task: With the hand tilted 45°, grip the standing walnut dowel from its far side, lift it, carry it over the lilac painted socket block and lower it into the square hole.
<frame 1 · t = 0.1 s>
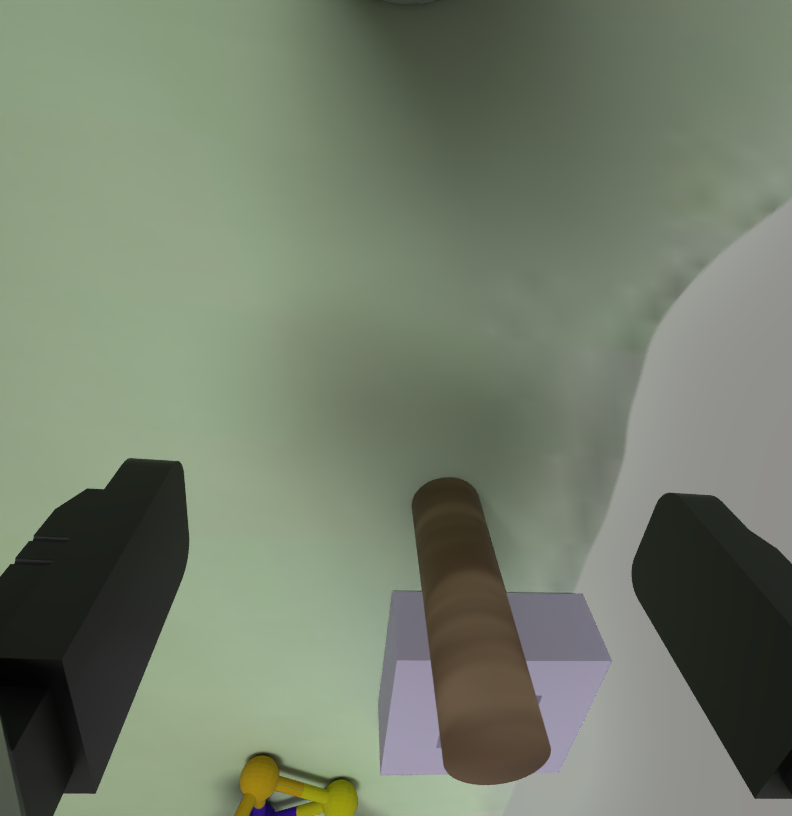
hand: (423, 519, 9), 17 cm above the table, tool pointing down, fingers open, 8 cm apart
socket: (473, 653, 39), on the table
dowel: (445, 504, 32), on the table
educational toy: (284, 789, 48), on the table
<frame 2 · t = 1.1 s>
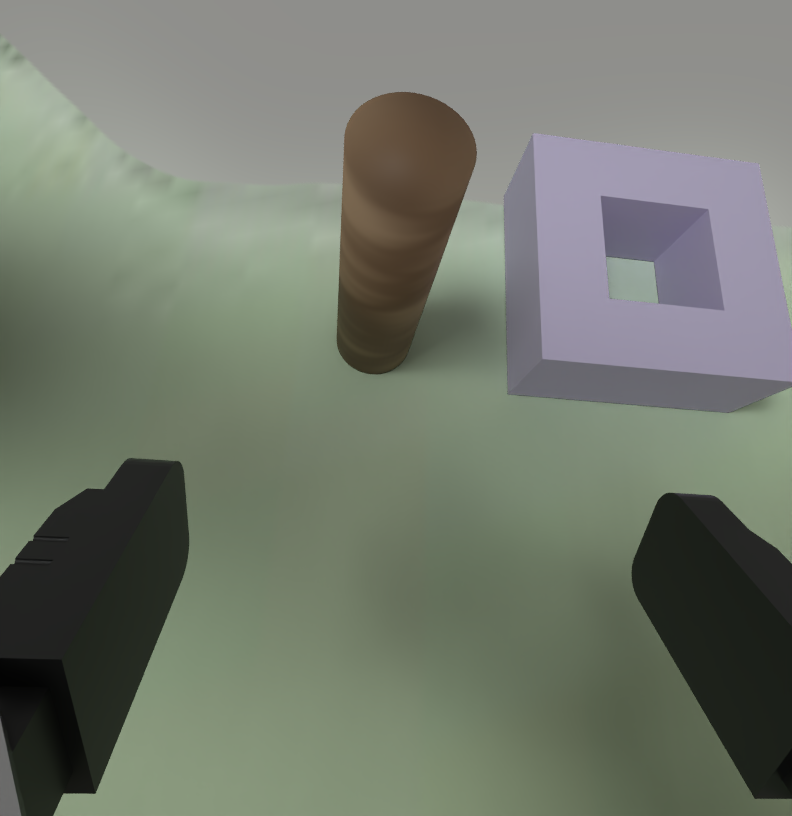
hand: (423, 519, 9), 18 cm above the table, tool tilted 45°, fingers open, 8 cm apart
socket: (611, 299, 32), on the table
dowel: (373, 339, 29), on the table
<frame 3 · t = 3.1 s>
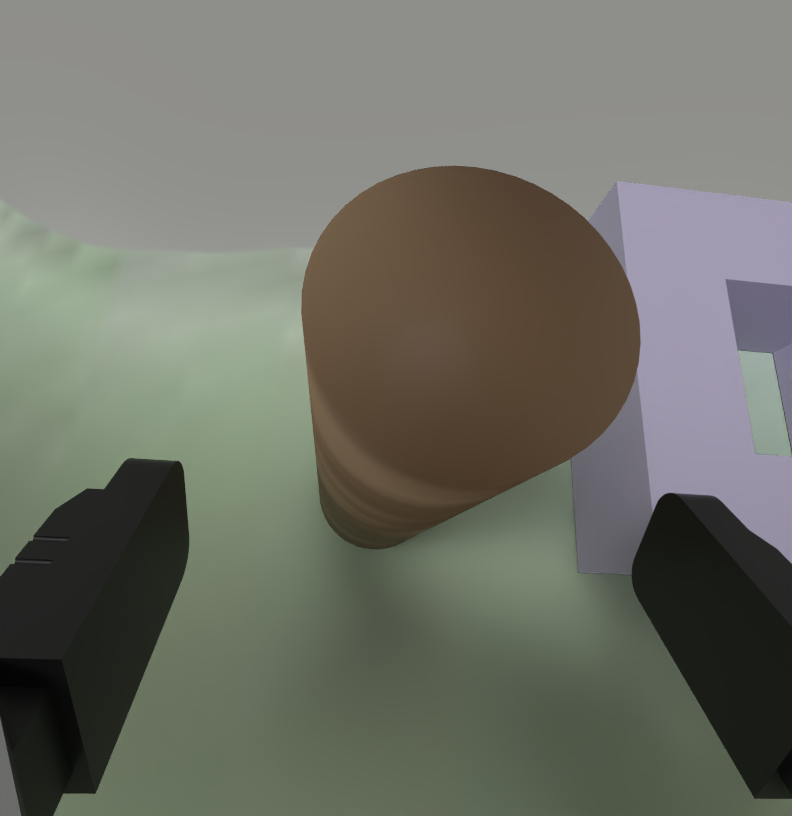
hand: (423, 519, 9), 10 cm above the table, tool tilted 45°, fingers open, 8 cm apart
socket: (718, 414, 22), on the table
dowel: (375, 492, 19), on the table
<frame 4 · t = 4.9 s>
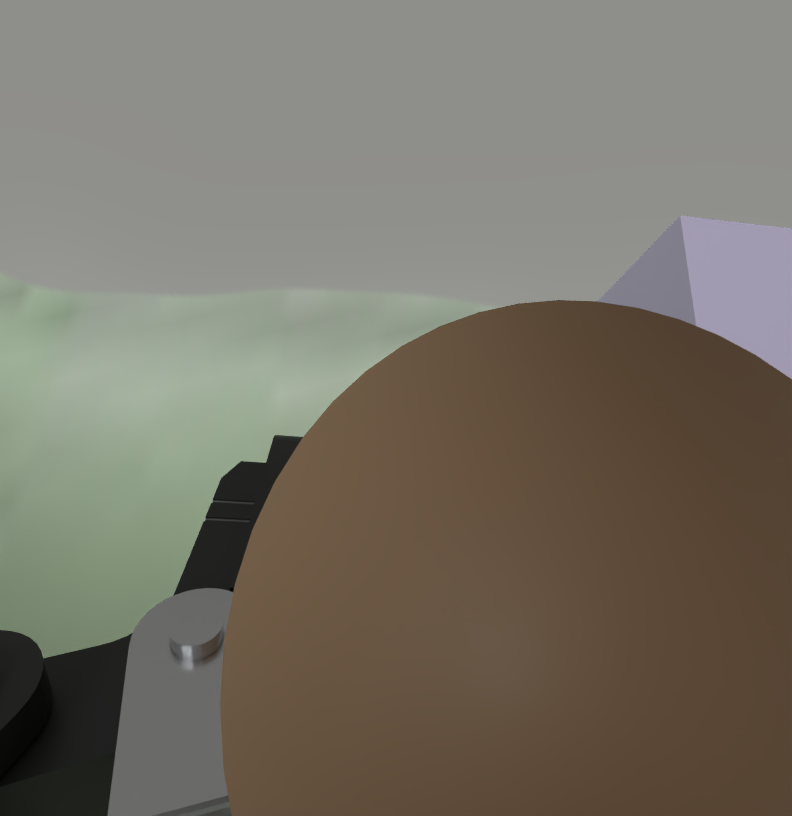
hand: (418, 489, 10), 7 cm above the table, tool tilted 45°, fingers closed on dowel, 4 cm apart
socket: (791, 487, 19), on the table
dowel: (380, 592, 16), on the table, touching gripper
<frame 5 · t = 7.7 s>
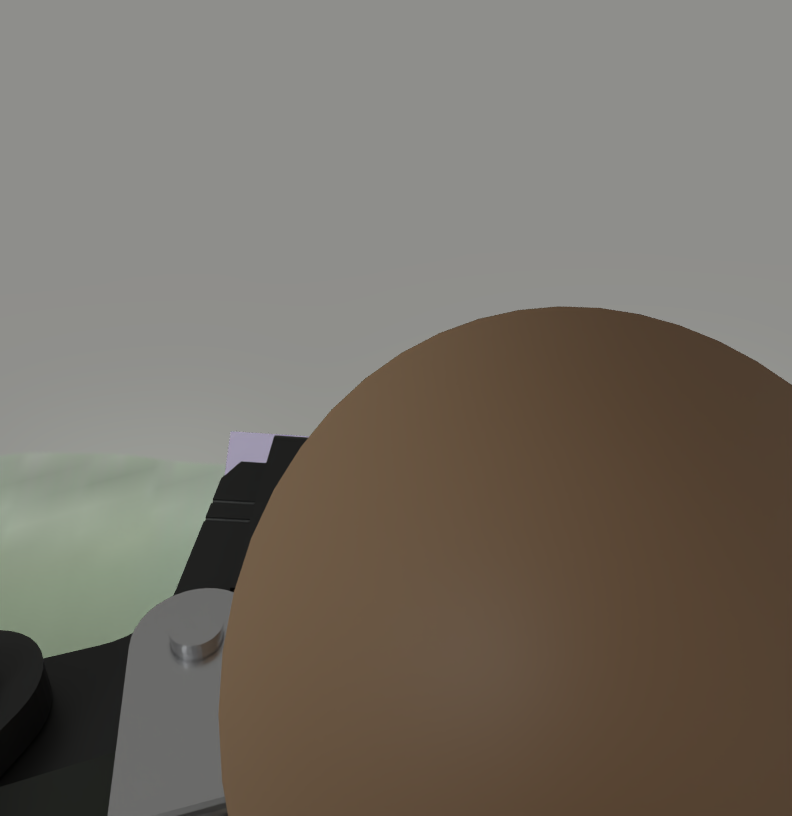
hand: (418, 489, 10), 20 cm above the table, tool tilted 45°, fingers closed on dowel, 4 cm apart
socket: (358, 584, 28), on the table
dowel: (380, 594, 16), point 13 cm above the table, touching gripper
when the fingers open (8 cm above the table, at t = 10.6 s): dowel drops 1 cm, resting in socket.
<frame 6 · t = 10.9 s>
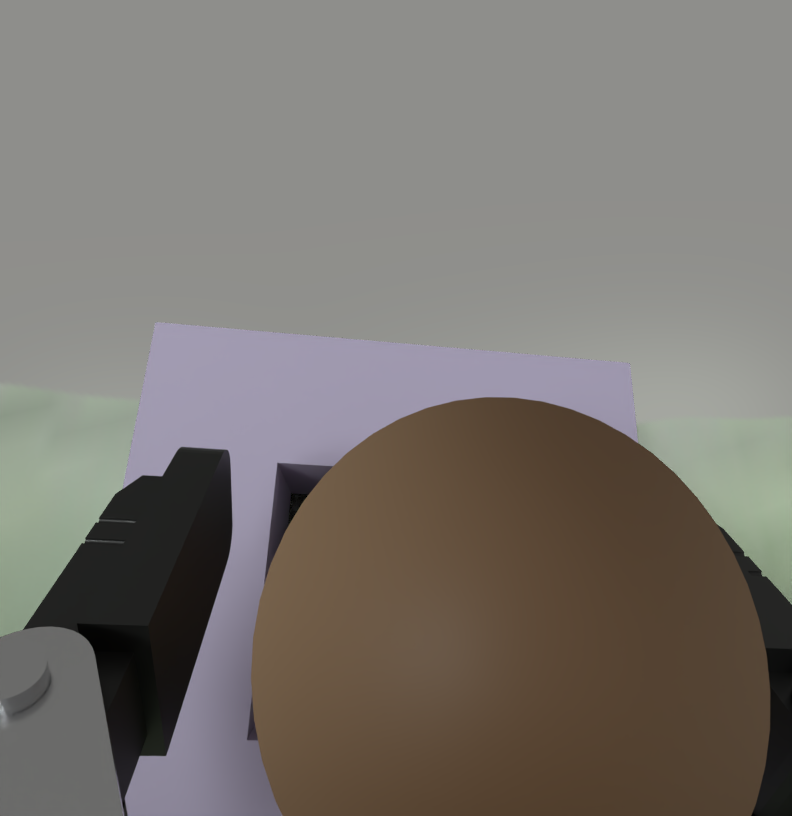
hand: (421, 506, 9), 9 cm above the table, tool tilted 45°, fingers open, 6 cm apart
socket: (375, 591, 17), on the table
dowel: (377, 595, 17), resting in socket
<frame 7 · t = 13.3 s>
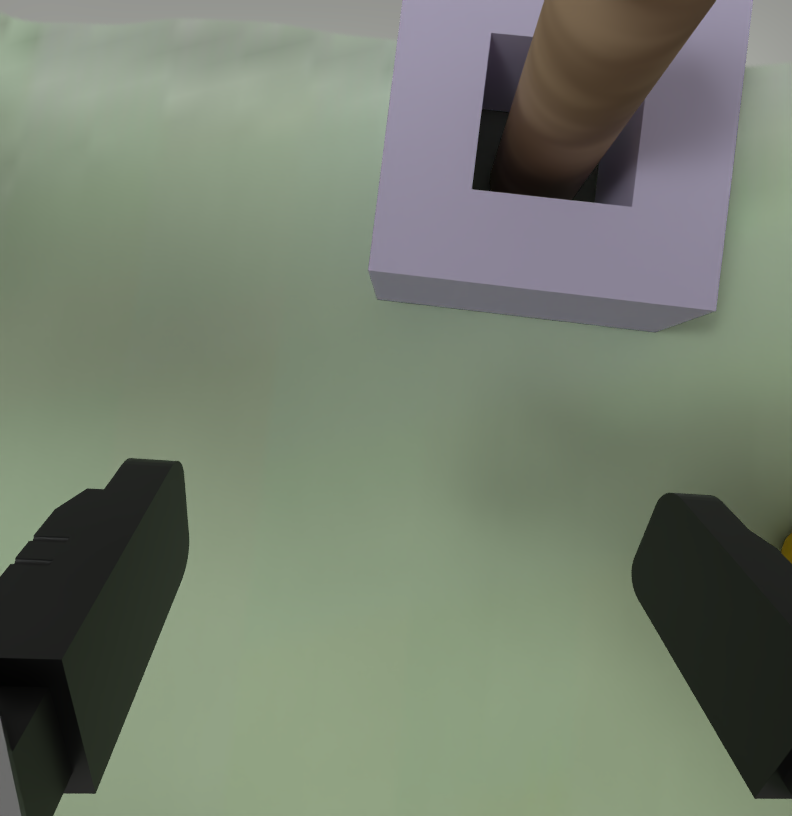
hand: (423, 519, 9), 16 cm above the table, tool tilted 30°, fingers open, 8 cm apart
socket: (531, 178, 25), on the table
dowel: (532, 181, 25), resting in socket
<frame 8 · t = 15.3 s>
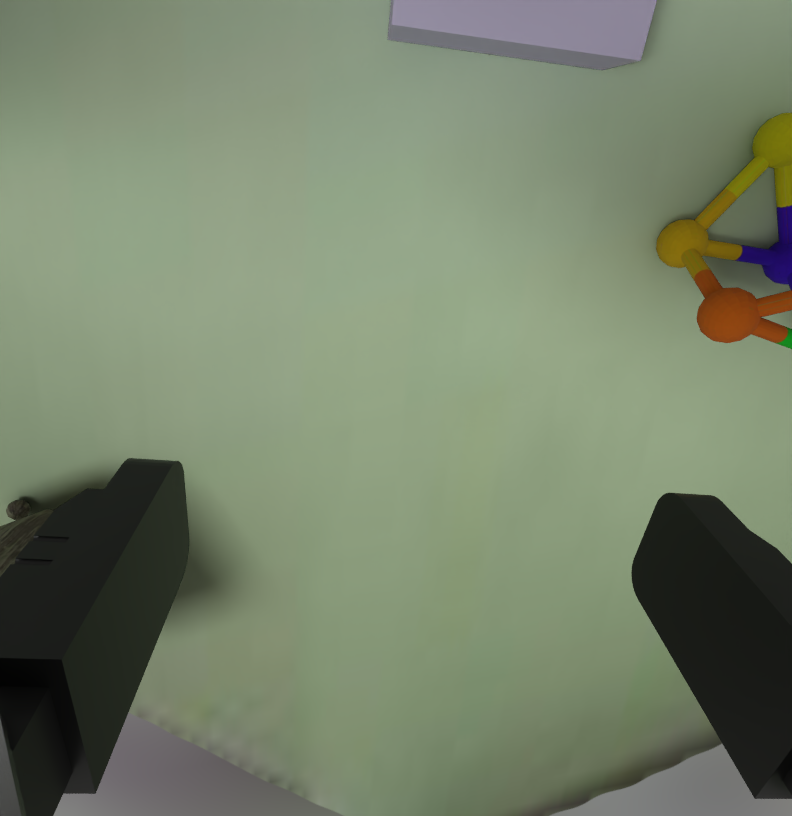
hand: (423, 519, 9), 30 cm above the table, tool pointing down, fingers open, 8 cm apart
tabletop clock: (94, 536, 46), on the table
educational toy: (756, 223, 37), on the table
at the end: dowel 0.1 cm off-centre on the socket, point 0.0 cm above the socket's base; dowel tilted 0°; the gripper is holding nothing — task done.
